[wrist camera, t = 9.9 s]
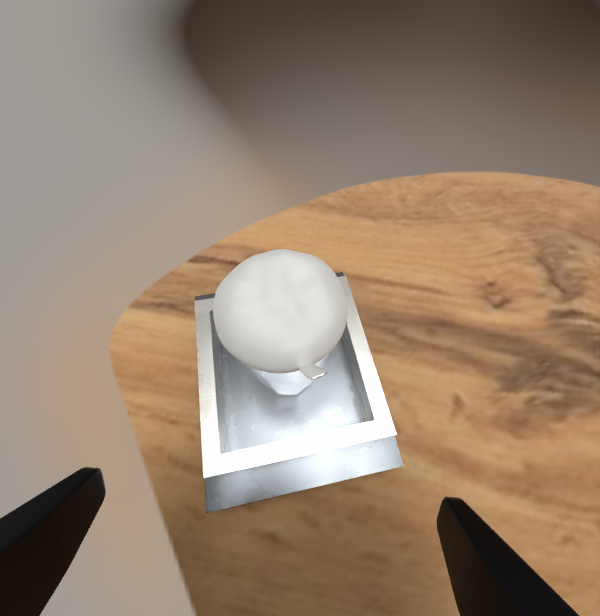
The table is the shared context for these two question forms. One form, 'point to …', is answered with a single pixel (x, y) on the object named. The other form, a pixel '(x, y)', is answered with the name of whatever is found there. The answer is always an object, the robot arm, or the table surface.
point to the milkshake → (281, 317)
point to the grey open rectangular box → (289, 420)
